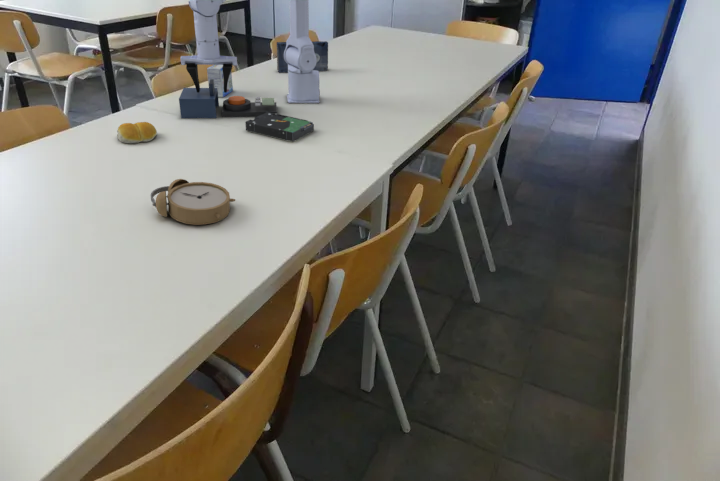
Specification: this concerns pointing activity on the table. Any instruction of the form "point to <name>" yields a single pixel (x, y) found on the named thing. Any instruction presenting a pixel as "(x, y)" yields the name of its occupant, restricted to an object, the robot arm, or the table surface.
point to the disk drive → (280, 126)
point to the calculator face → (264, 101)
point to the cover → (199, 102)
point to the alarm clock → (193, 202)
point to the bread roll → (136, 132)
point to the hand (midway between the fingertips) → (212, 91)
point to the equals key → (236, 100)
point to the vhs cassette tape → (319, 51)
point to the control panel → (246, 109)
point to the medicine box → (219, 79)
